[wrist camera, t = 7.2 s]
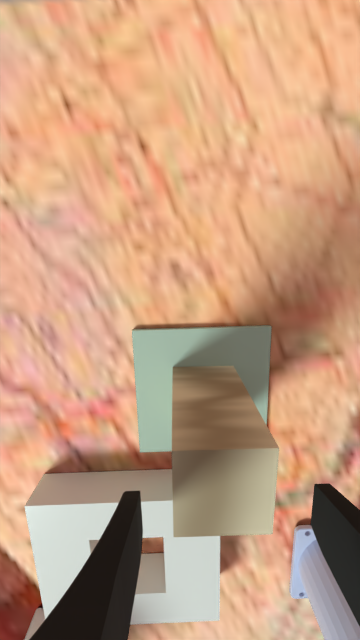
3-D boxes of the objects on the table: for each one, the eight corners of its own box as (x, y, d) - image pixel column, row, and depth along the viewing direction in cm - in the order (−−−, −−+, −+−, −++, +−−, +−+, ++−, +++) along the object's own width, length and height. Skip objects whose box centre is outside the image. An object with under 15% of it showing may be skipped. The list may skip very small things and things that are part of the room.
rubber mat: (269, 325, 20) (271, 326, 20) (263, 444, 22) (265, 447, 22) (132, 329, 20) (132, 330, 19) (140, 448, 22) (140, 452, 22)
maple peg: (233, 365, 20) (279, 448, 11) (231, 419, 21) (272, 534, 12) (172, 366, 20) (171, 450, 11) (173, 421, 21) (173, 537, 12)
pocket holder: (214, 467, 23) (220, 498, 20) (214, 578, 25) (219, 620, 22) (44, 473, 22) (24, 506, 19) (61, 585, 25) (46, 628, 22)
